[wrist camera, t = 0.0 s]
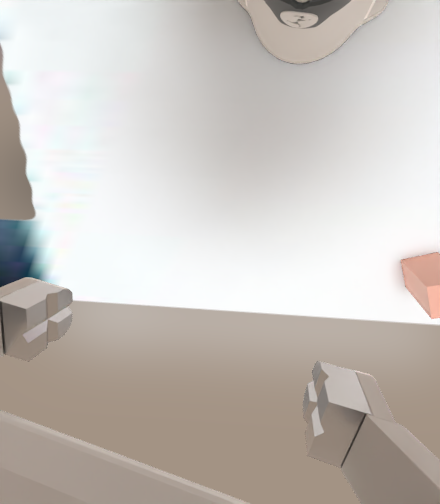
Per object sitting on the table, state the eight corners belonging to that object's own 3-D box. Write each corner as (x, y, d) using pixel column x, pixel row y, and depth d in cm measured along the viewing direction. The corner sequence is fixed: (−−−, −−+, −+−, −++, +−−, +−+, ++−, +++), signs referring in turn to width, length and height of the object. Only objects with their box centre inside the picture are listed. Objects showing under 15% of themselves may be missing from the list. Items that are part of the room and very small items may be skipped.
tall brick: (400, 259, 44) (428, 289, 35) (437, 252, 42) (476, 280, 33) (405, 286, 45) (433, 321, 36) (441, 280, 43) (479, 315, 35)
